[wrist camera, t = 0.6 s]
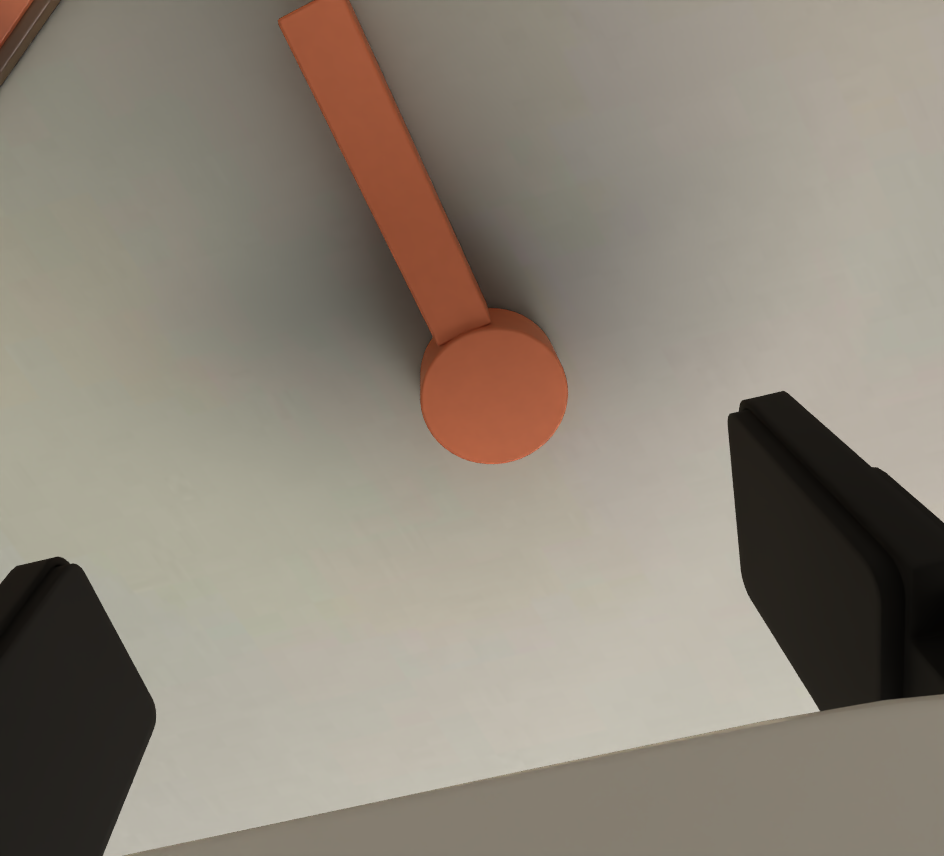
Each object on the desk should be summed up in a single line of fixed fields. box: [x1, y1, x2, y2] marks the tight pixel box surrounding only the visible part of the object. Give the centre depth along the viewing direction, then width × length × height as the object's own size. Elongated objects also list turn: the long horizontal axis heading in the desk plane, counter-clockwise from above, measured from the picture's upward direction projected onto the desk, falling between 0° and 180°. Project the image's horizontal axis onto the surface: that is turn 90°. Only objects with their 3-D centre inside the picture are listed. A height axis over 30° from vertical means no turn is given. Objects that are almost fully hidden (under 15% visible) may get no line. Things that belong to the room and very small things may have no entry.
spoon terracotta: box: [278, 0, 568, 464], centre depth 23 cm, size 14×5×2 cm, turn 24°
